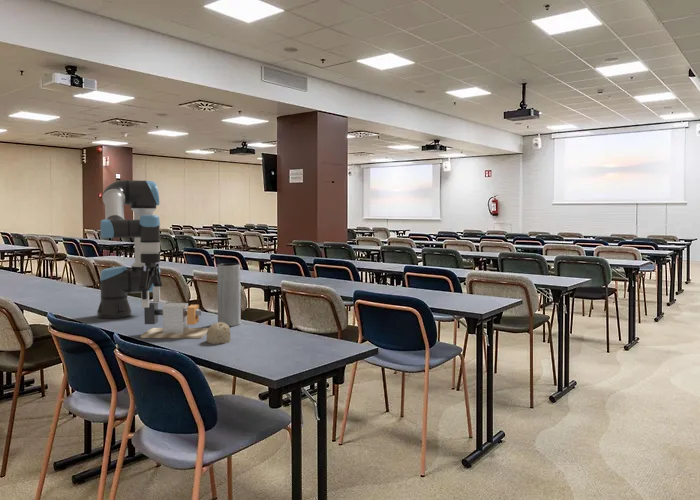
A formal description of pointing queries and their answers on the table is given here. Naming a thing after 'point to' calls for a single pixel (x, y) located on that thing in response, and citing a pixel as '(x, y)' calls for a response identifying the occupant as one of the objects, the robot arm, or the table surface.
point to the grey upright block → (175, 318)
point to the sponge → (218, 333)
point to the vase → (229, 294)
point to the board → (188, 334)
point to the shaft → (157, 313)
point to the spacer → (192, 315)
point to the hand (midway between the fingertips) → (151, 304)
